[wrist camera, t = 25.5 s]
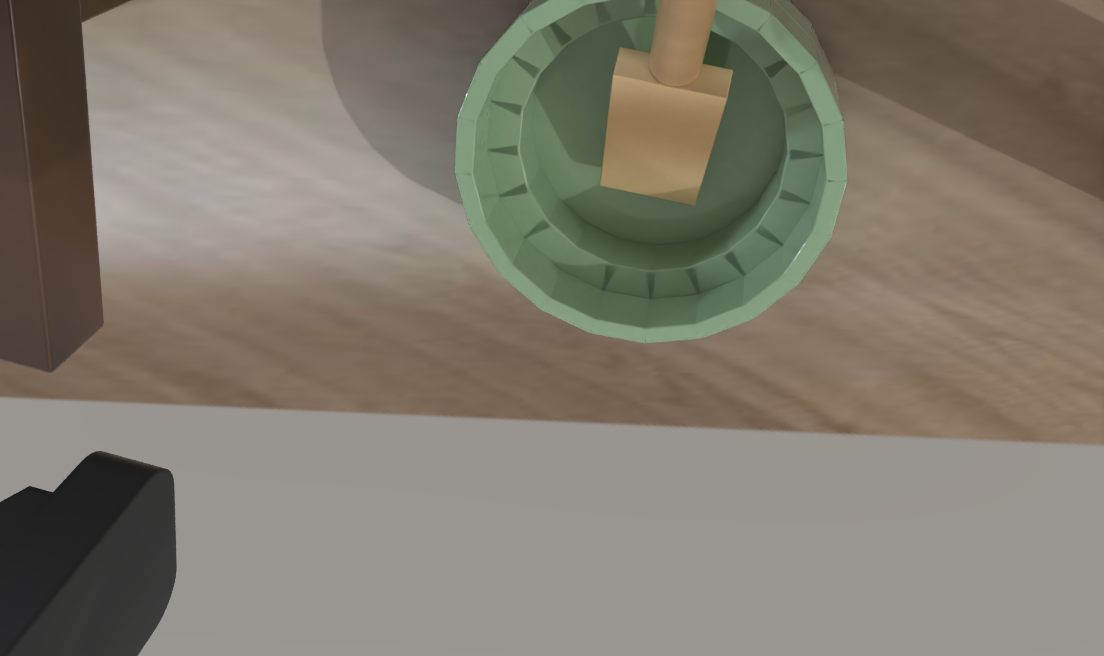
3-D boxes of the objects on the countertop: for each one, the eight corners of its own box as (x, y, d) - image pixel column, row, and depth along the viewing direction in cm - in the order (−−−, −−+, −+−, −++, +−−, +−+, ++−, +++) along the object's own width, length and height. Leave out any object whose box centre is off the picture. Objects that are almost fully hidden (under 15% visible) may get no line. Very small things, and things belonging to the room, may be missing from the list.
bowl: (425, 51, 45) (383, 93, 40) (744, -132, 39) (741, -109, 34) (590, 321, 51) (571, 387, 46) (890, 200, 45) (906, 261, 40)
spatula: (831, -246, 24) (840, -299, 25) (655, -277, 25) (670, -328, 25) (694, 206, 45) (702, 169, 45) (599, 185, 45) (608, 149, 46)
